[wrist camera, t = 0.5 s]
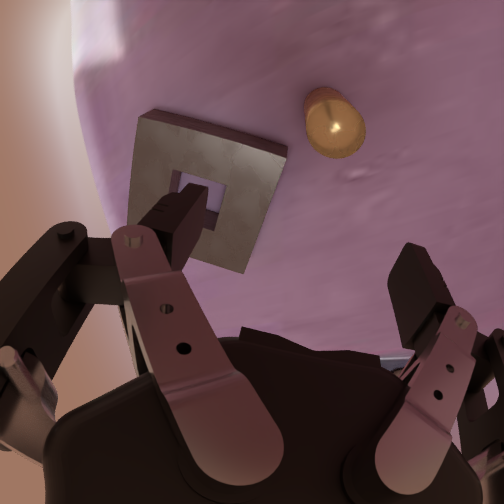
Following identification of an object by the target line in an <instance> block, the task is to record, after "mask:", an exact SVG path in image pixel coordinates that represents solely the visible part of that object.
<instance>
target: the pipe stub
mask: <svg viewBox="0 0 504 504" xmlns="http://www.w3.org/2000/svg"><path fill="white" fill-rule="evenodd" d="M304 113H305V122H306V131H307V137H308V140H309V142H310V144H311V145H312V147H313V148H314V149H315V150H316V151H317V152H318V153H320V154H322V155H324V156H326V157H329V158H336V159H337V158H345V157H348V156H350V155H352V154H353V153H355V152H356V151H357V150H358V149H359V148H360V147H361V145H362V144H363V142H364V139H365V134H366V127H365V123H364V120H363V118H362V116H361V115H360V113H359V112H358V111H357V110H356V109H355V108H354V107H353V106H352V105H351V104H350V103H349V102H348V101H347V100H346V99H345V98H344V97H343V96H342V95H341V94H340V93H339V92H338V91H336V90H334V89H332V88H328V87H321V88H317V89H315V90H313V91H312V92H310V93H309V94H308V96H307V97H306V99H305V102H304Z"/></svg>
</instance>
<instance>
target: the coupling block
mask: <svg viewBox="0 0 504 504" xmlns="http://www.w3.org/2000/svg"><path fill="white" fill-rule="evenodd" d="M287 150H288V147H287V146H284V145H281V144H278V143H275V142H272V141H269V140H266V139H263V138H260V137H256V136H253V135H250V134H247V133H244V132H240V131H237V130H233V129H230V128H227V127H223V126H220V125H216V124H212V123H209V122H205V121H201V120H197V119H194V118H190V117H186V116H182V115H177V114H173V113H169V112H165V111H160V110H156V109H153V110H151V111H149V112H147V113H145V114H143V115H141V116H139V117H138V123H137V130H136V137H135V144H134V152H133V160H132V169H131V179H130V190H129V202H128V216H127V225H137V224H138V222H139V221H140V220H141V219H142V218H143V217H144V216H145V215H146V214H147V212H148V211H149V210H150V209H152V207H153V206H154V205H155V204H156V203H157V202H158V201H159V200H160V198H161V197H162V196H164V195H167V194H169V193H171V192H176V193H177V192H178V187H179V181H180V176H181V172H184V173H188V174H191V175H195V176H198V177H201V178H205V179H208V180H211V181H215V182H218V183H221V184H224V185H227V187H226V190H225V194H224V197H223V201H222V205H221V208H220V212H219V213H216V212H213V211H209V210H206V211H205V218H204V225H203V229H202V233H201V236H200V238H199V240H198V242H197V244H196V245H195V247H194V249H193V251H192V253H191V254H190V256H189V257H191V258H194V259H197V260H200V261H203V262H206V263H210V264H213V265H216V266H219V267H222V268H225V269H228V270H231V271H235V272H238V273H241V274H244V272H245V269H246V266H247V264H248V261H249V258H250V255H251V253H252V250H253V247H254V245H255V242H256V239H257V237H258V234H259V231H260V229H261V226H262V223H263V221H264V218H265V215H266V213H267V210H268V207H269V204H270V202H271V199H272V196H273V194H274V191H275V188H276V186H277V183H278V180H279V178H280V175H281V172H282V170H283V167H284V164H285V162H286V159H287Z"/></svg>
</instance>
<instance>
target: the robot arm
mask: <svg viewBox="0 0 504 504" xmlns="http://www.w3.org/2000/svg"><path fill="white" fill-rule="evenodd" d="M207 197H208V187H206V186H202V185H197V184H193V183H188V184H187V185H186V186H185V187H184V189H183V190H182V191H181V192H180V193H176V192H171V193H169V194H167V195H164V196H162V197H161V198H160V200H159V201H158V202H157V203H156V204H155V205H154V206H153V207H152V209H150V210H149V211H148V212H147V214H146V215H145V216H144V217H143V218H142V219H141V220H140V221H139V222H138V224H137V225H126V226H123V227H120V228H118V229H117V230H115V231H114V232H113V234H112V236H111V238H92V237H91V238H90V237H88V236H87V229H86V227H85V226H84V225H83V224H81V223H79V222H72V221H68V222H62V223H59V224H56V225H54V226H53V227H51V228H50V229H49V230H48V231H47V232H46V233H45V234H44V235H43V236H42V237H41V238H40V239H39V240H38V241H37V242H36V243H35V244H34V245H33V246H32V247H31V248H30V249H29V250H28V251H27V252H26V253H25V254H24V255H23V256H22V257H21V259H20V260H19V261H18V262H17V263H16V264H15V265H14V266H13V267H12V268H11V269H10V271H9V272H8V273H7V274H6V275H5V276H4V277H3V279H2V280H1V281H0V450H2V451H14V452H15V453H17V454H19V455H20V456H22V457H24V458H26V459H27V460H29V461H31V462H33V463H34V464H36V465H38V466H40V467H42V468H43V471H44V478H45V490H46V492H45V493H46V495H45V496H46V497H45V504H504V330H502V329H495V330H494V331H493V332H492V333H491V334H490V336H489V337H487V336H485V335H483V334H481V333H479V332H478V331H477V330H478V326H477V323H476V321H475V319H474V318H473V317H472V315H471V314H470V313H469V312H468V311H466V310H465V309H463V308H461V307H459V306H456V305H455V303H454V301H453V298H452V296H451V294H450V292H449V290H448V288H447V285H446V283H445V281H443V277H442V275H441V273H440V271H439V270H438V268H437V267H436V266H435V265H434V264H433V262H432V260H431V258H430V256H429V254H428V252H427V251H426V249H425V248H424V247H422V246H419V245H416V244H413V243H409V242H408V243H406V244H405V246H404V247H403V249H402V251H401V253H400V255H399V257H398V259H397V261H396V263H395V264H394V266H393V268H392V270H391V272H390V274H389V277H388V283H387V286H388V290H389V294H390V298H391V302H392V305H393V309H394V313H395V317H396V321H397V326H398V330H399V334H400V339H401V343H402V348H405V349H411V350H415V353H414V354H413V355H412V357H411V358H410V359H409V361H408V362H407V364H406V365H405V367H404V368H403V370H402V371H401V373H400V374H399V376H396V375H395V374H393V373H392V372H390V371H389V370H387V369H385V368H383V367H381V364H380V356H378V355H373V354H367V353H361V352H356V351H351V350H340V351H314V350H311V349H308V348H306V347H304V346H301V345H299V344H297V343H294V342H292V341H290V340H288V339H285V338H283V337H281V336H279V335H275V334H271V333H267V332H262V331H258V330H254V329H250V328H246V327H241V331H240V335H239V337H222V338H217V337H216V335H215V333H214V331H213V330H212V328H211V326H210V324H209V322H208V320H207V318H206V316H205V315H204V313H203V311H202V309H201V307H200V305H199V303H198V301H197V299H196V297H195V295H194V293H193V292H192V290H191V288H190V286H189V284H188V282H187V280H186V278H185V276H184V274H183V272H182V269H183V267H184V266H185V264H186V262H187V260H188V258H189V256H190V254H191V253H192V251H193V249H194V247H195V245H196V244H197V242H198V240H199V238H200V236H201V233H202V229H203V225H204V218H205V211H206V204H207ZM94 304H108V305H118V309H119V313H120V317H121V321H122V324H123V328H124V332H125V335H126V339H127V342H128V345H129V349H130V353H131V357H132V361H133V365H134V369H135V372H136V375H137V378H135V379H133V380H131V381H129V382H127V383H125V384H123V385H121V386H119V387H117V388H116V389H114V390H112V391H110V392H108V393H106V394H104V395H102V396H100V397H98V398H96V399H94V400H92V401H90V402H88V403H86V404H84V405H82V406H80V407H78V408H76V409H74V410H72V411H70V412H68V413H67V414H65V415H64V416H62V417H61V418H60V419H59V420H58V421H57V422H56V421H55V409H56V405H57V400H58V396H57V391H56V388H55V386H54V385H53V383H52V379H53V377H54V375H55V374H56V372H57V370H58V368H59V365H60V364H61V362H62V360H63V358H64V357H65V355H66V353H67V351H68V349H69V347H70V346H71V344H72V342H73V340H74V339H75V337H76V335H77V333H78V331H79V330H80V328H81V326H82V325H83V323H84V321H85V319H86V318H87V316H88V314H89V312H90V311H91V309H92V308H93V306H94ZM494 378H495V379H496V382H497V386H498V390H499V397H498V400H497V402H496V403H495V405H494V406H492V407H491V408H490V409H489V410H488V406H487V402H486V398H485V393H484V389H483V388H484V387H485V386H486V385H487V384H488V383H489V382H490V381H492V379H494ZM456 417H457V421H458V427H459V435H460V443H461V451H462V454H461V452H460V451H459V450H458V449H457V447H456V446H455V445H454V443H453V442H452V436H451V434H450V432H451V429H452V426H453V424H454V421H455V419H456Z"/></svg>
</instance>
